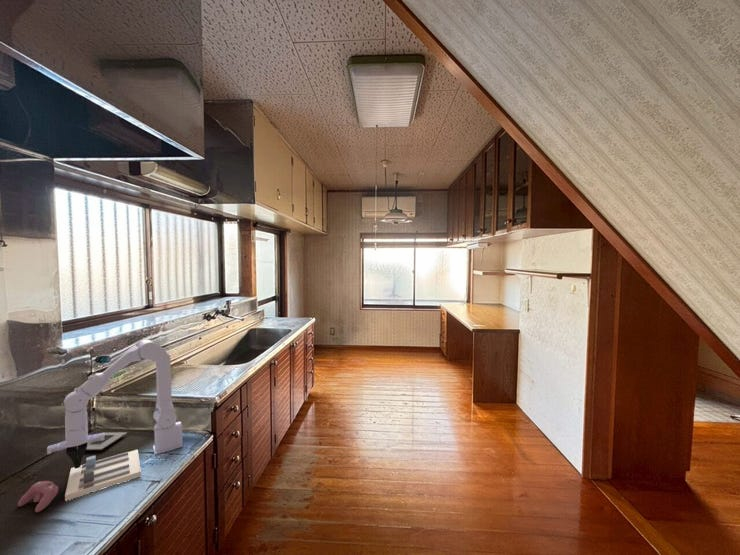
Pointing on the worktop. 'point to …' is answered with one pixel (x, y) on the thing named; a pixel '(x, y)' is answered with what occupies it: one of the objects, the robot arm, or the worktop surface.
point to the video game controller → (40, 494)
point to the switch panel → (104, 474)
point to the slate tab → (91, 462)
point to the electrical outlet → (105, 441)
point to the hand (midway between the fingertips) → (77, 466)
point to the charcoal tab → (89, 475)
